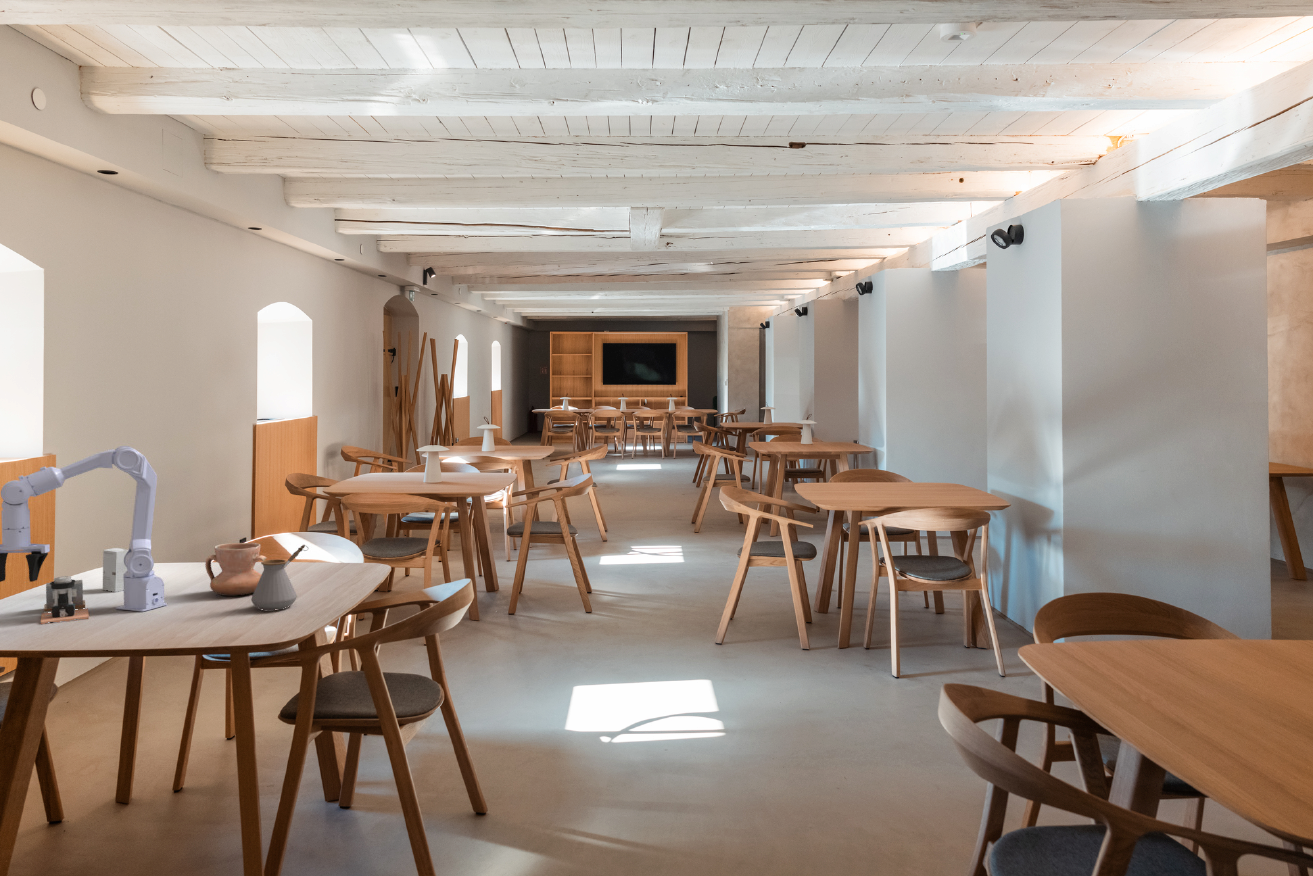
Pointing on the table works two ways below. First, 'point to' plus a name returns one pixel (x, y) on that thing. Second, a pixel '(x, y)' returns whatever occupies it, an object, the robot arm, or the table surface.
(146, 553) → the robot arm
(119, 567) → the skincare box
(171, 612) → the table surface
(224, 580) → the ceramic jug
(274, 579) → the coffee pot
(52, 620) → the terracotta mat
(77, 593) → the wall unit
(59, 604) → the push button
